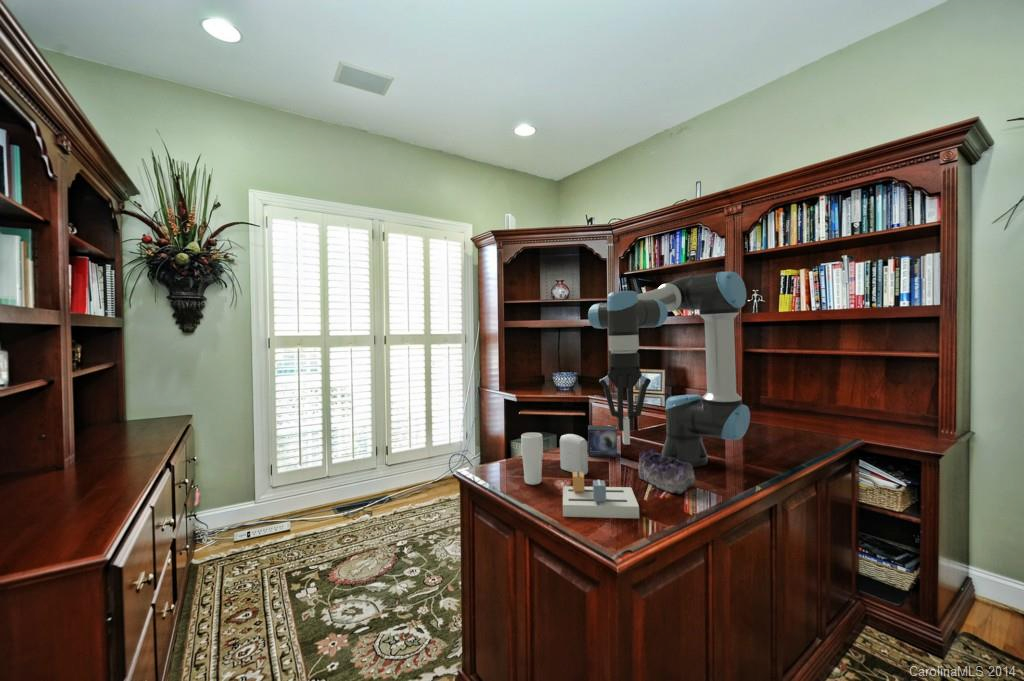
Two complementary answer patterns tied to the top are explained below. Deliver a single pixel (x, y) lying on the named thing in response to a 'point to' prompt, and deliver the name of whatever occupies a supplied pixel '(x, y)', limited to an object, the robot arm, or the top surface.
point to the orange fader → (578, 481)
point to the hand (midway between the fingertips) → (626, 442)
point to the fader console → (600, 503)
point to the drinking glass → (532, 457)
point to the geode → (665, 472)
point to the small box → (602, 441)
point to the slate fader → (599, 490)
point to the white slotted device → (573, 453)
